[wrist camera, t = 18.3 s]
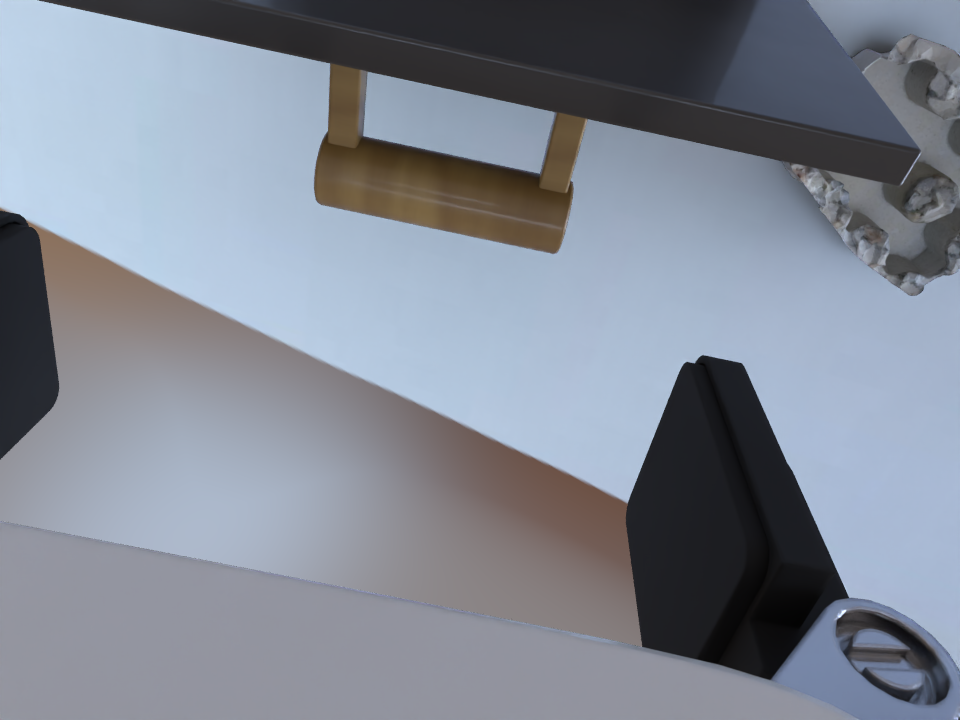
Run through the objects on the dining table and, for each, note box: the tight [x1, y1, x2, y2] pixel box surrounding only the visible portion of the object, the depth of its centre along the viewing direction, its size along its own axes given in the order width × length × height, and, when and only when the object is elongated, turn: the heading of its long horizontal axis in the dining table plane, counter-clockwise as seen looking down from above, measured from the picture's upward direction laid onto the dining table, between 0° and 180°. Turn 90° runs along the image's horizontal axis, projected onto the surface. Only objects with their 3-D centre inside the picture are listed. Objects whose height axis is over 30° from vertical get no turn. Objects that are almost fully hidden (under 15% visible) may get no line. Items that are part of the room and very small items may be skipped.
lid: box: [39, 0, 921, 254], centre depth 21 cm, size 14×18×5 cm
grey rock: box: [782, 34, 960, 296], centre depth 33 cm, size 11×8×4 cm
